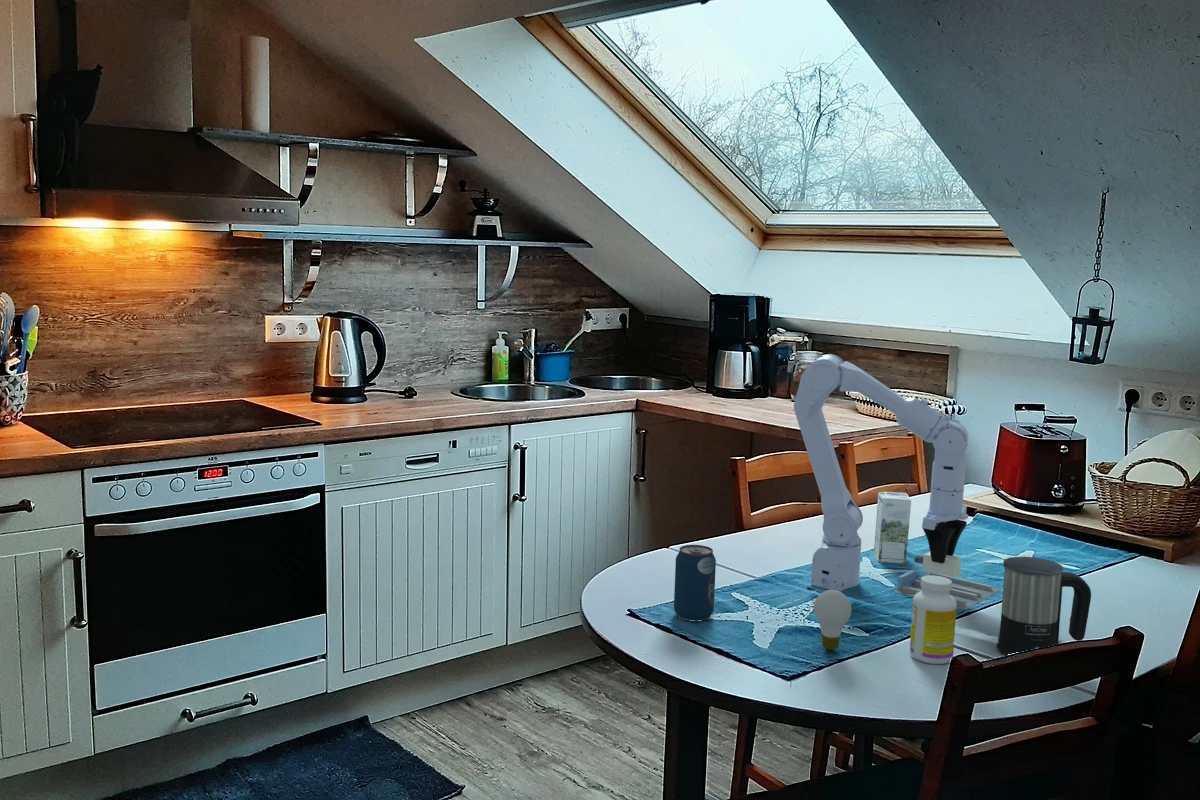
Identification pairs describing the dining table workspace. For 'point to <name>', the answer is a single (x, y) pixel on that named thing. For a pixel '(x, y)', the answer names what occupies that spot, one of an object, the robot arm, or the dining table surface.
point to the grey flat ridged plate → (961, 589)
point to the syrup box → (892, 527)
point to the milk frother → (1038, 604)
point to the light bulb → (832, 616)
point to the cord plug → (940, 565)
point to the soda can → (694, 582)
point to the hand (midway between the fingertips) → (941, 560)
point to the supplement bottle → (933, 621)
